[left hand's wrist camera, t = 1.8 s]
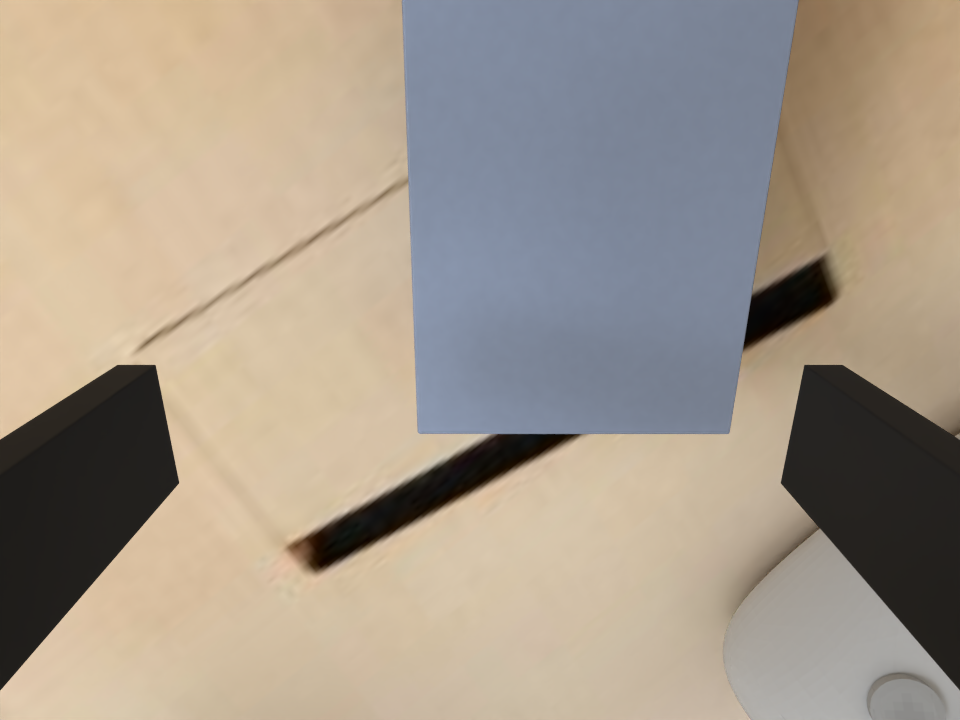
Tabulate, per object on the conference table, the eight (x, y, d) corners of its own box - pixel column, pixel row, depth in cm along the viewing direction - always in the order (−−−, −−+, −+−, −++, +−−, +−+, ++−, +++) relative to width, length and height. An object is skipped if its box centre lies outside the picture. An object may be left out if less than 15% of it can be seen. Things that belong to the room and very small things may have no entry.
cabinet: (424, -135, 24) (390, -312, 14) (704, -135, 24) (849, -310, 14) (436, 344, 30) (417, 434, 21) (653, 345, 30) (730, 434, 21)
